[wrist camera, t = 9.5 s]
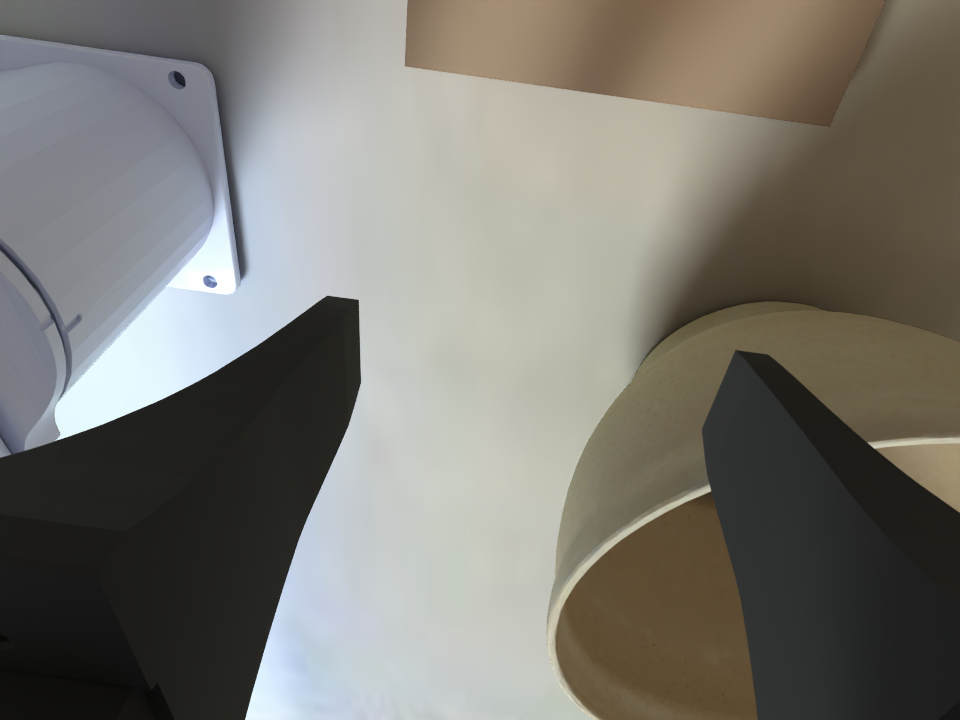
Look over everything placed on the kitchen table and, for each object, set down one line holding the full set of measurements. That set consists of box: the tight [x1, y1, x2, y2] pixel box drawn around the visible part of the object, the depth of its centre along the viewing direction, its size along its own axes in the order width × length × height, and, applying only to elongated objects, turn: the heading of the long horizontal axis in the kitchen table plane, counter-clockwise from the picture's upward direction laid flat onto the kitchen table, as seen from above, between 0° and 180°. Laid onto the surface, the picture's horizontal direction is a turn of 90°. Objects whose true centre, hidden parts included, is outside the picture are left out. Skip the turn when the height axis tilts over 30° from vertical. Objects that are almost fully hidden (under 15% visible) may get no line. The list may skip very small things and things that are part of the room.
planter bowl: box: [547, 301, 960, 720], centre depth 21 cm, size 16×16×11 cm
